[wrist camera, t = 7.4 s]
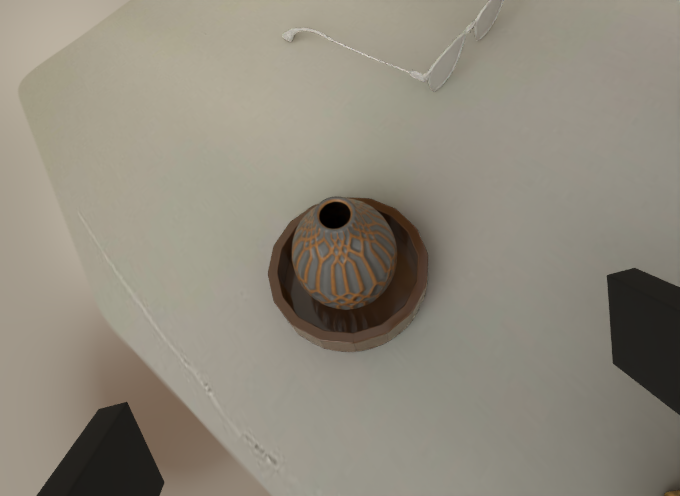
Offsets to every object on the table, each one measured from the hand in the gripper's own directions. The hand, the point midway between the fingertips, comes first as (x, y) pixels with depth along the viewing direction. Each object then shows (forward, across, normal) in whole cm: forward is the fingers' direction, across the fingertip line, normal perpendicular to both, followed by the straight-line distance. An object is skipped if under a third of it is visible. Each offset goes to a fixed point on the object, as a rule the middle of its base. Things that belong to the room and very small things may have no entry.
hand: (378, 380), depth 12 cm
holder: (+20, 0, -5) cm, 20 cm away
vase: (+20, 0, -4) cm, 20 cm away
